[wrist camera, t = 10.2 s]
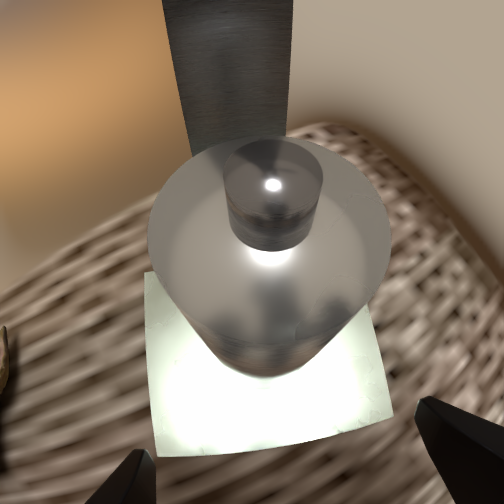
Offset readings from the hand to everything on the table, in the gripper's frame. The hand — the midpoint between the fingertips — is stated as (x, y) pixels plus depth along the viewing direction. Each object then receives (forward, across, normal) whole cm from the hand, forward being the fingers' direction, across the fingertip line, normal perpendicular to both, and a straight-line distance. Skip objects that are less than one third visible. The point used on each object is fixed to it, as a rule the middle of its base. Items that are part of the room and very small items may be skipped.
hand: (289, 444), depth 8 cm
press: (+11, -2, +2) cm, 11 cm away
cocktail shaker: (+9, 0, +2) cm, 9 cm away
